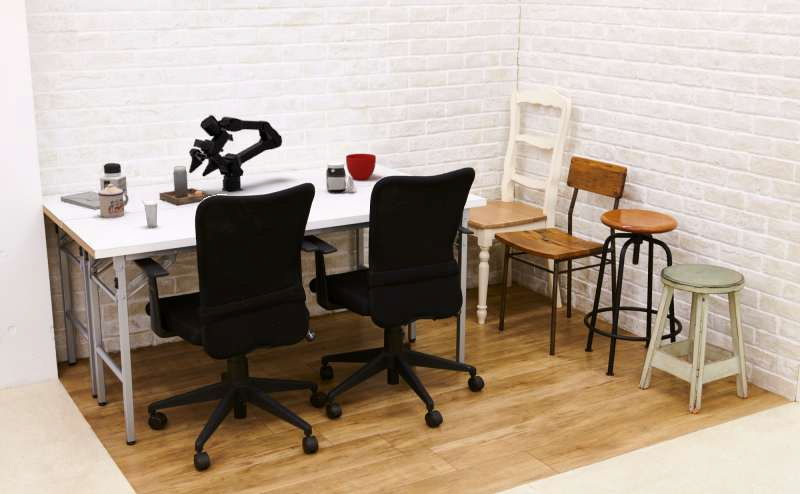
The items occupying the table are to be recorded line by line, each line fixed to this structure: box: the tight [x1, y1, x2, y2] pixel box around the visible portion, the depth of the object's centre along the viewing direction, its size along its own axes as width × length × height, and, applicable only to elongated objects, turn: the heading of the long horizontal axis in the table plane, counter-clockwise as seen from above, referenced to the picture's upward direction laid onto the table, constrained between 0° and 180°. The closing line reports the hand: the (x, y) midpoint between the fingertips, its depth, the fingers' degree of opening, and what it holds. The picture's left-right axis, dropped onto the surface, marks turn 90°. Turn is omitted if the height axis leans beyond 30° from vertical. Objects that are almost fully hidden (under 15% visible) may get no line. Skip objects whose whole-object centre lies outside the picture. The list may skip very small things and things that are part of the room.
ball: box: [195, 190, 203, 196], centre depth 410 cm, size 3×3×3 cm
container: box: [99, 162, 128, 195], centre depth 418 cm, size 8×8×13 cm
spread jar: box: [325, 161, 356, 194], centre depth 425 cm, size 12×11×12 cm
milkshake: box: [141, 199, 158, 228], centre depth 369 cm, size 4×5×10 cm
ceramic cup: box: [345, 153, 377, 181], centre depth 452 cm, size 13×17×10 cm
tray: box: [158, 188, 211, 206], centre depth 411 cm, size 15×15×2 cm
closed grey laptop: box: [60, 190, 126, 211], centre depth 407 cm, size 24×2×14 cm
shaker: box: [172, 165, 189, 199], centre depth 410 cm, size 5×5×12 cm
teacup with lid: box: [97, 184, 129, 219], centre depth 386 cm, size 12×9×12 cm
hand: (196, 174), depth 415 cm, fingers open, 9 cm apart
